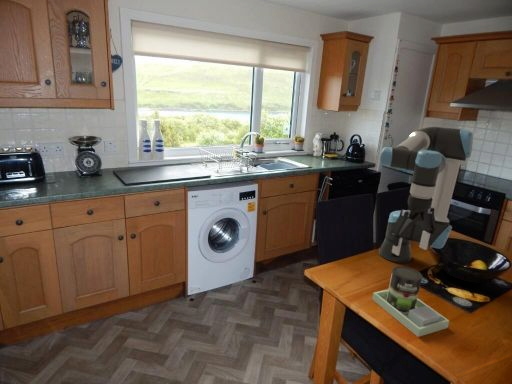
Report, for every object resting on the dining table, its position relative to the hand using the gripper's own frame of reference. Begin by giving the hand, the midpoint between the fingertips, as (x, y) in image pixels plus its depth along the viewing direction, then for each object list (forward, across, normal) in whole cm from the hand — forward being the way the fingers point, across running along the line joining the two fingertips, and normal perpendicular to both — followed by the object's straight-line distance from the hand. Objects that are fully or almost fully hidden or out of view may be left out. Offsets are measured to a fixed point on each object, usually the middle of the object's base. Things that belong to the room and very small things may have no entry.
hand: (409, 251), depth 123 cm
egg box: (+22, +2, +12) cm, 25 cm away
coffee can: (+22, +1, +2) cm, 22 cm away
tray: (+22, +2, +6) cm, 23 cm away
